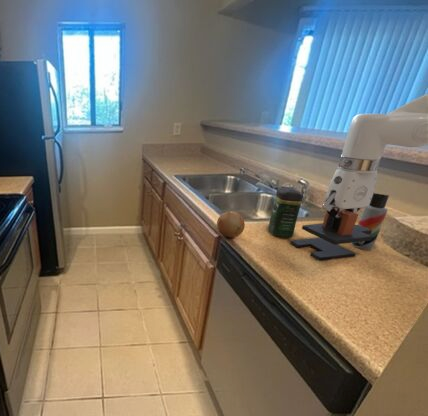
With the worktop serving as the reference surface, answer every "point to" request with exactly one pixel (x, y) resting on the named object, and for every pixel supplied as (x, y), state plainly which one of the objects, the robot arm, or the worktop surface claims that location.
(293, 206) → the coffee jar
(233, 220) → the brown ball
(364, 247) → the lotion bottle
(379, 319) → the worktop surface
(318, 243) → the charcoal pad
